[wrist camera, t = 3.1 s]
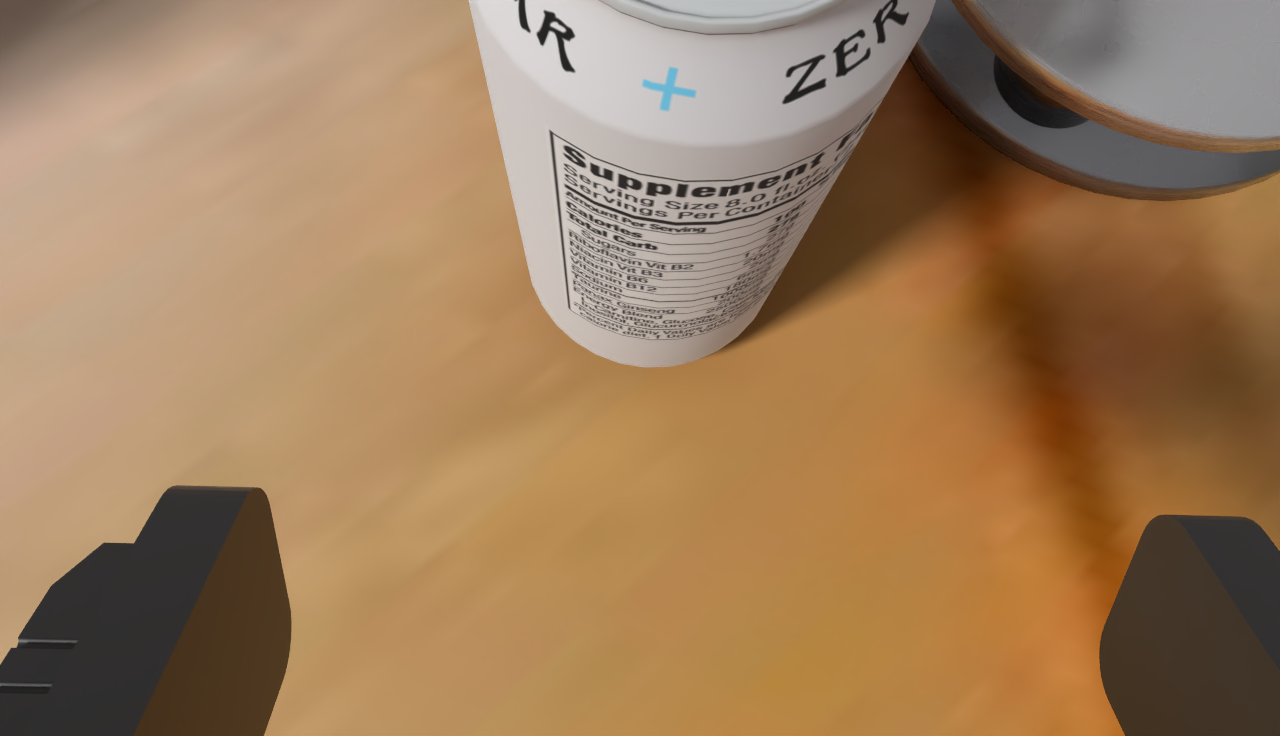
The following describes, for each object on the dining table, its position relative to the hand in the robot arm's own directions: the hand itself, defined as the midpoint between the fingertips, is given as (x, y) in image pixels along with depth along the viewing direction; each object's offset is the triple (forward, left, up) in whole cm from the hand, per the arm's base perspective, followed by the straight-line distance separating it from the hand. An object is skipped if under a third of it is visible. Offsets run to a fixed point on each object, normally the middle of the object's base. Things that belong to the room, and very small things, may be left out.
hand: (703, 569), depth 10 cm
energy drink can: (-1, +8, -15) cm, 17 cm away
